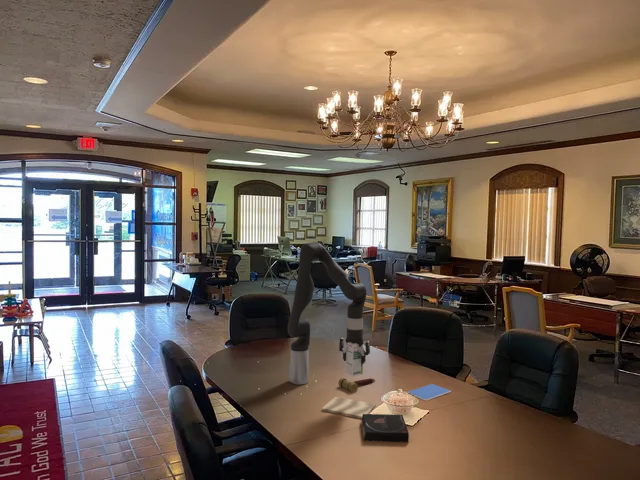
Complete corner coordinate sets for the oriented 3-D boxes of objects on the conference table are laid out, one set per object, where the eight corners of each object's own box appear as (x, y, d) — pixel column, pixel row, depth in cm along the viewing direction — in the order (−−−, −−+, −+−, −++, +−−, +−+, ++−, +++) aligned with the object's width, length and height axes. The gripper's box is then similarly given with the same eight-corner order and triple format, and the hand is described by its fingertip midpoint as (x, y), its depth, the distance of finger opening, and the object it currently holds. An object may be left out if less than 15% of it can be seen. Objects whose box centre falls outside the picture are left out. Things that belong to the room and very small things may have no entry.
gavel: (368, 373, 245) (382, 378, 237) (368, 381, 245) (381, 387, 237) (338, 378, 233) (351, 384, 225) (337, 387, 233) (350, 393, 225)
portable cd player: (361, 423, 193) (361, 413, 192) (402, 424, 192) (402, 414, 192) (363, 442, 176) (364, 432, 176) (408, 443, 176) (408, 433, 176)
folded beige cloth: (321, 410, 204) (321, 408, 204) (335, 398, 217) (335, 396, 217) (364, 419, 195) (364, 417, 195) (375, 406, 209) (375, 404, 209)
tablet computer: (425, 402, 215) (425, 399, 215) (405, 394, 225) (405, 391, 225) (451, 393, 227) (451, 390, 227) (431, 385, 237) (431, 383, 237)
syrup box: (352, 376, 207) (353, 344, 206) (345, 372, 212) (346, 341, 211) (362, 374, 210) (363, 343, 209) (355, 370, 215) (356, 340, 214)
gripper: (337, 327, 209) (336, 362, 210) (367, 330, 203) (366, 366, 204) (343, 323, 216) (342, 357, 217) (372, 327, 210) (371, 362, 211)
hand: (354, 362), depth 210 cm, fingers closed on syrup box, 8 cm apart
